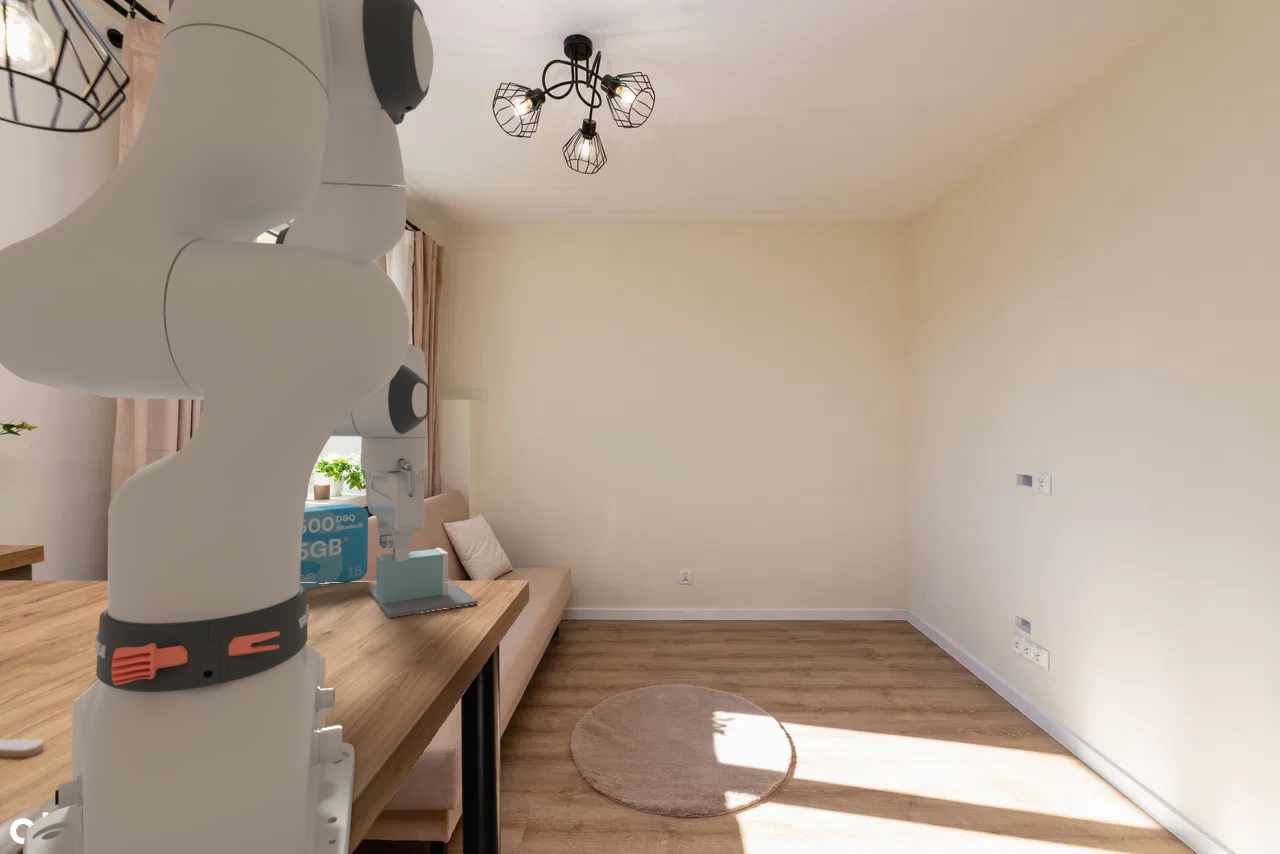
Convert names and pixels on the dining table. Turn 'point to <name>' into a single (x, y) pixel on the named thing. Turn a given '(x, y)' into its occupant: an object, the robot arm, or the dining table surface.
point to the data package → (334, 545)
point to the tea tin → (412, 576)
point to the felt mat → (426, 602)
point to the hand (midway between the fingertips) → (393, 553)
